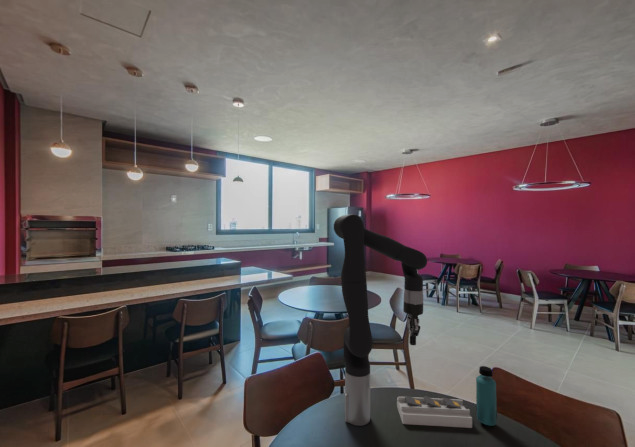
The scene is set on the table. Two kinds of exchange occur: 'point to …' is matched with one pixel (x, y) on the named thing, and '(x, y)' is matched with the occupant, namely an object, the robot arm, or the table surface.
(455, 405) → the right rocker
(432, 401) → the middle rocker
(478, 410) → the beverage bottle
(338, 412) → the table surface
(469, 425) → the power strip
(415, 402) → the left rocker
